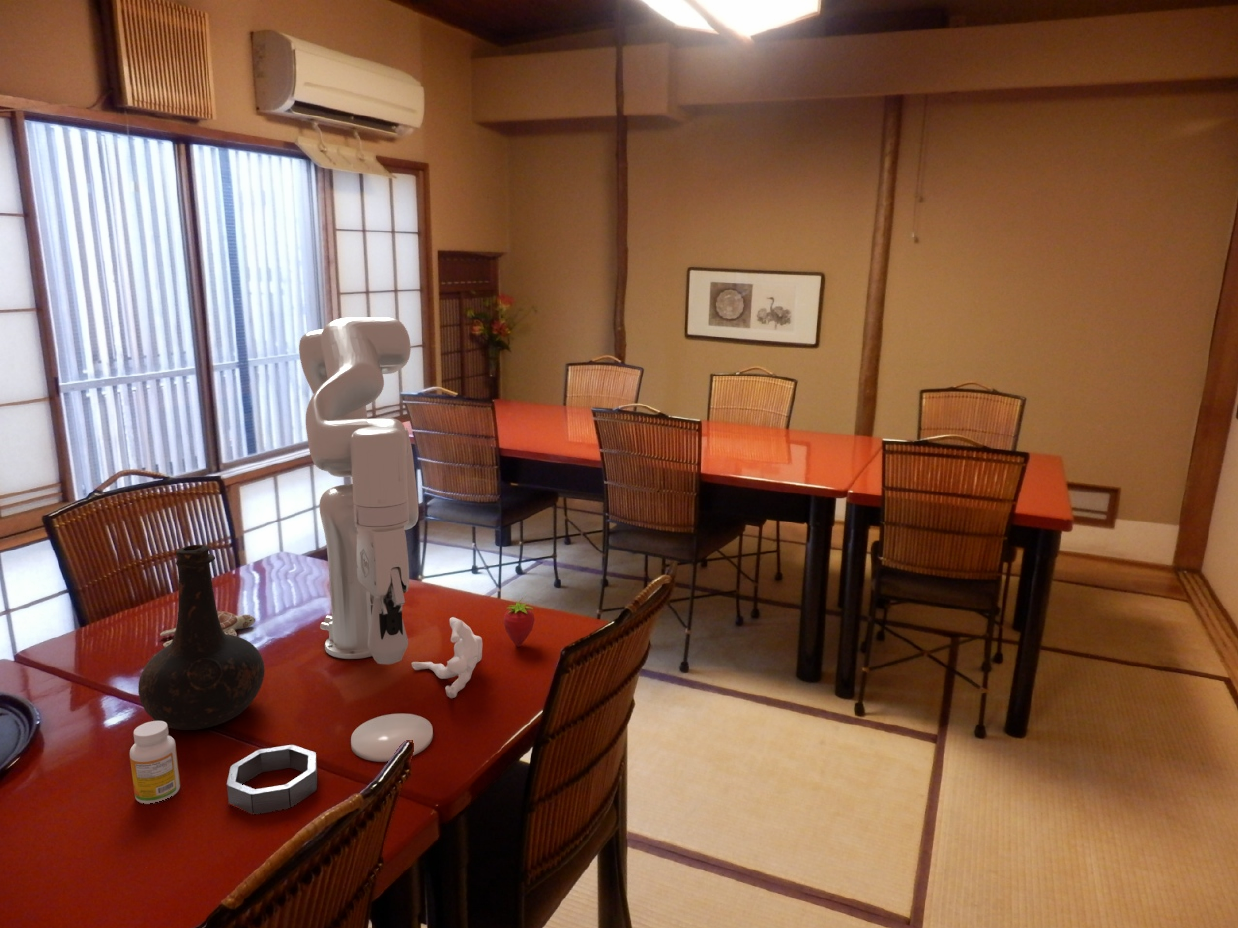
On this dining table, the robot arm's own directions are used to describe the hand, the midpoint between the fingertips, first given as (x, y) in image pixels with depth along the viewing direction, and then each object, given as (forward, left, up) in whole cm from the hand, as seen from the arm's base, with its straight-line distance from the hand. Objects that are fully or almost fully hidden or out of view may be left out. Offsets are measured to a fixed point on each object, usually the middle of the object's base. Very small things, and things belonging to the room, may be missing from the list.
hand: (387, 631), depth 122 cm
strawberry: (-1, +37, -18) cm, 41 cm away
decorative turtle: (-57, +13, -18) cm, 61 cm away
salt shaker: (0, 0, -4) cm, 4 cm away
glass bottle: (-31, -8, -18) cm, 37 cm away
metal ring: (-6, -17, -18) cm, 25 cm away
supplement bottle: (-19, -25, -18) cm, 36 cm away
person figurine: (-3, +21, -18) cm, 28 cm away
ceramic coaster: (0, 0, -18) cm, 18 cm away
